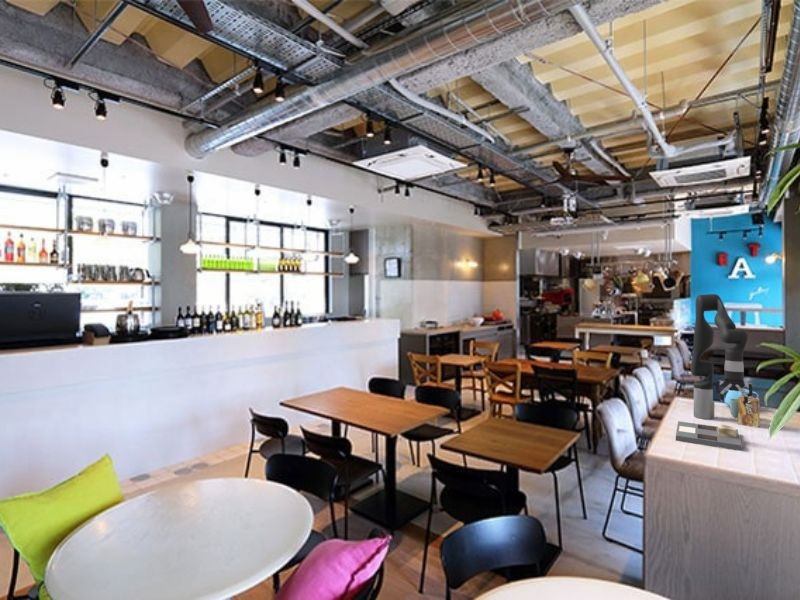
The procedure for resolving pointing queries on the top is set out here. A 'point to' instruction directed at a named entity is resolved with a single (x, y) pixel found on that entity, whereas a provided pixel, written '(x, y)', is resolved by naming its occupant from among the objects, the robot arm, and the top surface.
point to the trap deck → (706, 436)
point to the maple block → (726, 431)
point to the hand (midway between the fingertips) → (733, 402)
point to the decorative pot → (735, 395)
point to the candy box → (748, 411)
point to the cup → (734, 407)
